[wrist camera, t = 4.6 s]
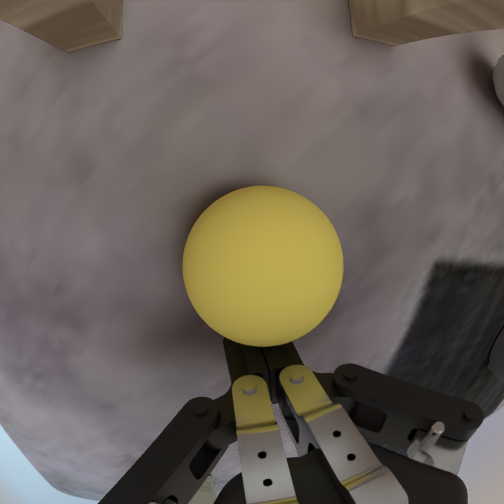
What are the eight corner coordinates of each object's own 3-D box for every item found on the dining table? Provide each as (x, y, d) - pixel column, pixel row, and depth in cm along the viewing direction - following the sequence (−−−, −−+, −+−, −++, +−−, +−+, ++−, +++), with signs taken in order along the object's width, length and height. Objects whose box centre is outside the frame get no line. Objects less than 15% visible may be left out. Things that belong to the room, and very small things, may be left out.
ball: (345, 354, 12) (392, 262, 7) (202, 379, 11) (159, 297, 7) (309, 251, 16) (322, 150, 11) (196, 267, 15) (171, 166, 11)
